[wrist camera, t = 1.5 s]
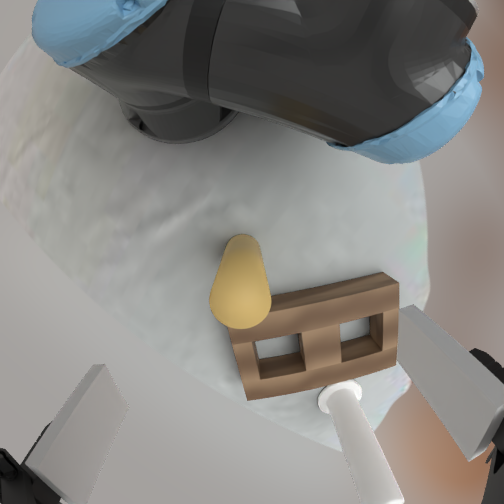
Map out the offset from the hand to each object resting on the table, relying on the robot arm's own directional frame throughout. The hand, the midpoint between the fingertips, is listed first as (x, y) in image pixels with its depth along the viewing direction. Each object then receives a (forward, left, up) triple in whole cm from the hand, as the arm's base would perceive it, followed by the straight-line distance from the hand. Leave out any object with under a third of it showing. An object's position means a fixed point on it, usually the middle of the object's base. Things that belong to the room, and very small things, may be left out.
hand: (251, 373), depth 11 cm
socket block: (+12, +6, -23) cm, 26 cm away
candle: (+25, +9, -23) cm, 35 cm away
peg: (0, -1, -23) cm, 23 cm away
